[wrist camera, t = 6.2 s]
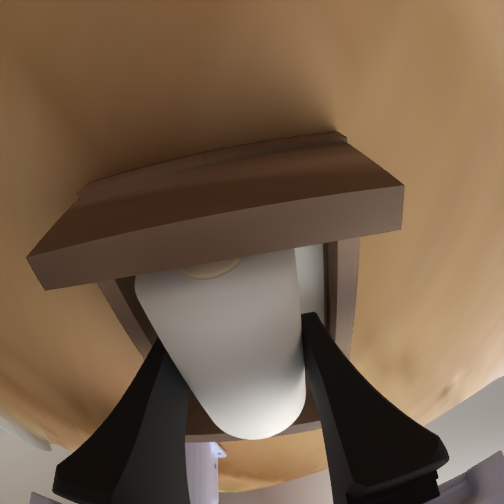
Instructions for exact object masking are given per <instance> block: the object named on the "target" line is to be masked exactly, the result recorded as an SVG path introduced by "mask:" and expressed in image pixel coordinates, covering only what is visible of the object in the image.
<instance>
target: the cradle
mask: <svg viewBox="0 0 504 504" xmlns="http://www.w3.org/2000/svg"><path fill="white" fill-rule="evenodd" d="M78 196H79V199H78V200H77V201H76V202H75V203H74V204H73V205H72V206H71V207H70V208H69V209H68V210H67V211H66V212H65V214H64V215H63V216H62V217H61V218H60V219H59V220H58V221H57V222H56V223H55V224H54V225H53V227H52V228H51V229H50V230H49V231H48V232H47V233H46V234H45V236H44V237H43V238H42V239H41V240H40V241H39V243H38V244H37V245H36V246H35V247H34V249H33V250H32V251H31V252H30V253H29V255H28V256H27V257H26V259H27V261H28V263H29V264H30V266H31V268H32V270H33V271H34V273H35V275H36V277H37V278H38V280H39V282H40V283H41V285H42V287H43V288H44V290H45V291H46V290H52V289H58V288H64V287H70V286H76V285H82V284H88V283H94V282H97V283H98V285H99V287H100V289H101V290H102V292H103V294H104V296H105V297H106V299H107V301H108V303H109V304H110V306H111V308H112V309H113V311H114V313H115V314H116V316H117V318H118V319H119V321H120V323H121V324H122V326H123V327H124V329H125V331H126V332H127V334H128V335H129V337H130V338H131V340H132V341H133V343H134V344H135V346H136V347H137V349H138V350H139V352H140V353H141V355H142V356H143V358H144V359H146V357H147V355H148V353H149V351H150V350H151V348H152V346H153V344H154V342H155V341H156V339H157V337H158V335H157V333H156V331H155V329H154V328H153V326H152V324H151V322H150V320H149V319H148V317H147V315H146V313H145V311H144V309H143V307H142V306H141V304H140V302H139V300H138V298H137V295H136V292H135V278H136V275H141V274H147V273H153V272H159V271H165V270H171V269H177V268H183V267H189V266H194V265H200V264H206V263H212V262H218V261H224V260H229V259H235V258H241V257H247V256H253V255H259V254H264V253H270V252H276V251H282V250H287V249H293V248H294V250H295V258H296V268H297V278H298V289H299V300H300V312H301V314H304V313H309V312H316V313H317V314H318V316H319V318H320V320H321V322H322V323H323V325H324V327H325V328H326V330H327V331H328V333H329V334H330V336H331V337H332V339H333V340H334V342H335V343H336V344H337V346H338V347H339V348H340V350H341V351H342V352H343V353H344V355H345V356H346V357H347V359H348V360H349V358H350V350H351V342H352V334H353V325H354V316H355V305H356V294H357V280H358V264H359V243H360V237H362V236H368V235H373V234H379V233H385V232H390V231H396V230H401V224H402V213H403V201H404V185H403V184H402V183H401V182H400V181H398V180H397V179H396V178H395V177H393V176H392V175H391V174H389V173H388V172H387V171H386V170H384V169H383V168H382V167H380V166H379V165H378V164H376V163H375V162H374V161H372V160H371V159H369V158H368V157H367V156H365V155H364V154H362V153H361V152H360V151H358V150H357V149H355V148H354V147H352V146H351V145H350V144H348V143H347V137H345V136H344V135H342V134H340V133H339V132H331V133H321V134H313V135H304V136H296V137H289V138H282V139H275V140H269V141H262V142H256V143H250V144H245V145H239V146H234V147H228V148H223V149H218V150H213V151H209V152H204V153H199V154H195V155H190V156H186V157H182V158H177V159H173V160H169V161H165V162H161V163H157V164H154V165H150V166H146V167H142V168H139V169H135V170H132V171H128V172H125V173H121V174H118V175H115V176H111V177H108V178H105V179H102V180H99V181H95V182H92V183H89V184H87V185H86V186H85V187H84V188H83V189H82V190H81V191H80V192H79V193H78ZM304 368H305V366H304ZM305 385H306V399H305V404H304V406H303V409H302V411H301V413H300V415H299V416H298V418H297V419H296V420H295V421H294V422H293V423H292V424H291V425H290V426H289V427H288V428H286V429H285V430H283V431H282V432H280V433H278V434H276V435H274V436H281V435H288V434H294V433H300V432H305V431H311V430H316V429H321V428H322V426H321V422H320V418H319V414H318V411H317V408H316V404H315V401H314V398H313V394H312V391H311V388H310V384H309V381H308V378H307V374H306V371H305ZM274 436H271V437H274ZM237 440H248V439H242V438H237V437H234V436H231V435H229V434H227V433H225V432H224V431H222V430H221V429H220V428H219V427H218V426H217V425H216V424H215V423H214V422H213V421H212V419H211V418H210V416H209V415H208V414H207V412H206V411H205V409H204V408H203V406H202V405H201V404H200V402H199V401H198V399H197V398H196V396H195V395H194V393H193V392H192V390H191V389H190V390H189V400H188V410H187V420H186V430H185V443H201V442H223V441H237Z"/></svg>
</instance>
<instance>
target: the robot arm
mask: <svg viewBox="0 0 504 504" xmlns="http://www.w3.org/2000/svg"><path fill="white" fill-rule="evenodd" d="M301 327H302V340H303V354H304V366H305V371H306V374H307V378H308V381H309V384H310V388H311V391H312V394H313V398H314V401H315V404H316V408H317V411H318V414H319V418H320V422H321V426H322V432H323V437H324V443H325V449H326V455H327V461H328V467H329V474H330V480H331V487H332V495H333V503H334V504H504V456H503V453H502V451H498V452H496V453H495V454H493V455H492V456H490V457H489V458H487V459H485V460H484V461H482V462H480V463H479V464H477V465H475V466H474V467H472V468H470V469H469V470H467V471H466V472H465V473H463V474H461V475H459V476H457V477H455V478H453V479H451V480H449V481H447V482H445V483H443V484H441V485H439V486H438V485H437V482H436V479H438V474H437V471H436V470H437V469H439V468H440V467H442V466H443V465H444V464H446V463H447V462H448V460H449V455H448V452H447V450H446V448H445V446H444V444H443V442H442V441H441V439H440V437H439V436H437V435H436V434H434V433H432V432H431V431H429V430H428V429H426V428H424V427H423V426H421V425H420V424H418V423H417V422H415V421H414V420H413V419H411V418H410V417H408V416H407V415H406V414H404V413H403V412H402V411H401V410H399V409H398V408H397V407H396V406H394V405H393V404H392V403H391V402H389V401H388V400H387V399H386V398H385V397H384V396H383V395H381V394H380V393H379V392H378V391H377V390H376V389H375V388H374V387H373V386H372V385H371V384H370V383H369V382H368V381H367V380H366V379H365V378H364V377H363V376H362V375H361V374H360V373H359V371H358V370H357V369H356V368H355V367H354V366H353V365H352V363H351V362H350V361H349V360H348V359H347V357H346V356H345V355H344V353H343V352H342V351H341V350H340V348H339V347H338V346H337V344H336V343H335V342H334V340H333V339H332V337H331V336H330V334H329V333H328V331H327V330H326V328H325V327H324V325H323V323H322V322H321V320H320V318H319V316H318V314H317V313H316V312H309V313H304V314H301ZM189 390H190V387H189V386H188V384H187V382H186V381H185V379H184V378H183V376H182V375H181V373H180V371H179V370H178V368H177V367H176V365H175V363H174V362H173V360H172V359H171V357H170V355H169V354H168V352H167V350H166V349H165V347H164V345H163V343H162V342H161V340H160V338H159V336H158V337H157V339H156V341H155V342H154V344H153V346H152V348H151V350H150V351H149V353H148V355H147V357H146V359H145V360H144V362H143V364H142V366H141V368H140V369H139V371H138V373H137V374H136V376H135V378H134V380H133V381H132V383H131V384H130V386H129V387H128V389H127V391H126V392H125V394H124V395H123V397H122V398H121V400H120V401H119V403H118V404H117V405H116V407H115V408H114V410H113V411H112V412H111V414H110V415H109V416H108V417H107V419H106V420H105V421H104V422H103V423H102V424H101V426H100V427H99V428H98V429H97V430H96V431H95V432H94V434H93V435H92V436H91V437H90V438H89V439H88V440H87V441H85V442H84V443H83V444H82V445H81V446H80V447H79V448H78V449H77V450H76V451H75V452H74V453H72V454H71V455H70V456H69V457H67V458H66V459H65V460H64V461H62V462H61V463H60V464H58V465H57V467H56V472H55V477H54V483H53V489H52V491H53V493H54V494H56V495H58V496H61V497H63V498H66V499H68V500H70V501H73V502H75V503H78V504H218V499H219V498H218V458H219V457H226V452H225V451H224V450H223V449H222V448H221V447H220V446H219V444H218V443H217V442H201V443H185V430H186V420H187V410H188V400H189ZM30 504H61V503H59V502H57V501H54V500H52V499H49V498H47V497H44V496H42V495H39V494H37V493H35V492H32V493H31V498H30Z"/></svg>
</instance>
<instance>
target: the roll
mask: <svg viewBox="0 0 504 504" xmlns="http://www.w3.org/2000/svg"><path fill="white" fill-rule="evenodd" d="M135 292H136V295H137V298H138V300H139V302H140V304H141V306H142V307H143V309H144V311H145V313H146V315H147V317H148V319H149V320H150V322H151V324H152V326H153V328H154V329H155V331H156V333H157V335H158V336H159V338H160V340H161V342H162V343H163V345H164V347H165V349H166V350H167V352H168V354H169V355H170V357H171V359H172V360H173V362H174V363H175V365H176V367H177V368H178V370H179V371H180V373H181V375H182V376H183V378H184V379H185V381H186V382H187V384H188V386H189V387H190V389H191V390H192V392H193V393H194V395H195V396H196V398H197V399H198V401H199V402H200V404H201V405H202V406H203V408H204V409H205V411H206V412H207V414H208V415H209V416H210V418H211V419H212V421H213V422H214V423H215V424H216V425H217V426H218V427H219V428H220V429H221V430H222V431H224V432H225V433H227V434H229V435H231V436H234V437H237V438H242V439H250V440H253V439H263V438H267V437H271V436H274V435H276V434H278V433H280V432H282V431H283V430H285V429H286V428H288V427H289V426H290V425H291V424H292V423H293V422H294V421H295V420H296V419H297V418H298V416H299V415H300V413H301V411H302V409H303V406H304V404H305V399H306V385H305V368H304V354H303V340H302V327H301V312H300V300H299V289H298V278H297V268H296V258H295V250H294V248H293V249H287V250H282V251H276V252H270V253H264V254H259V255H253V256H247V257H241V258H235V259H229V260H224V261H218V262H212V263H206V264H200V265H194V266H189V267H183V268H177V269H171V270H165V271H159V272H153V273H147V274H141V275H136V278H135Z"/></svg>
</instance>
